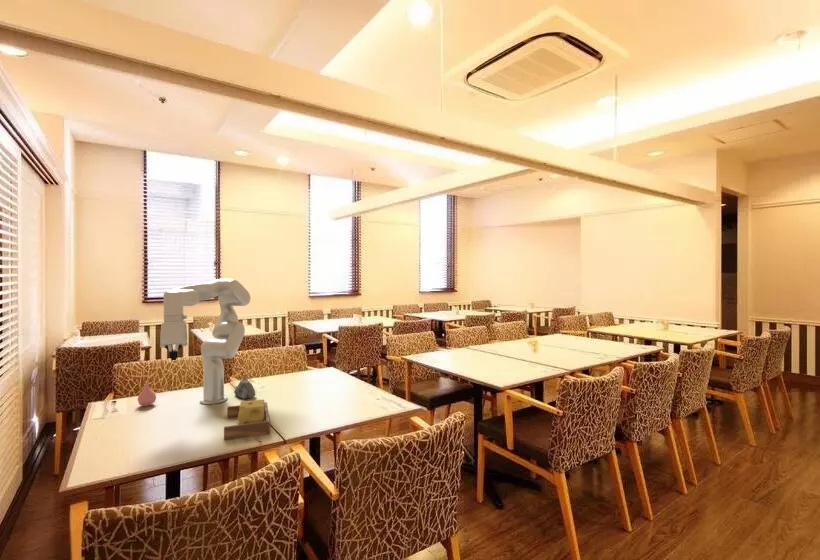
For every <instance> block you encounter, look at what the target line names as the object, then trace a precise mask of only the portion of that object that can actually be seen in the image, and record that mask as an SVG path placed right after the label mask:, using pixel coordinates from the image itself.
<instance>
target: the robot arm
mask: <svg viewBox="0 0 820 560" xmlns="http://www.w3.org/2000/svg"><path fill="white" fill-rule="evenodd" d="M214 298H217V300H218V304H219V308H220V314H219V316H218V318H217V320H216V322H215V325H214V326H213V329H212V333H211V335H212V336H213V338H210V339H206V340H204V341H203V342H202V344H201V345H200V354H201V358H202V365H203V367H202V368H203V369H202V371H203V372H202V375H203V376H202V377H203V381H202V384H203V386H202V387H203V388H202V389H203V393H202V394H203V397H201V398H200V399H199V403H201V404H203V405H215V404H220V403H223V402H225V401H227V400H228V396H227V394H225V366H224V365H225V364H224V361H223V360H222V359H232V358H234V357H235V356H236V354H237V353H238V350H239V348H240V346H241V343H242V342H243V340H244V337H245V325H244V323H242V322H240V321H237V319H238V314H237V312H236V310H235V309H234V307H245V306H247V305H249V304H250V302H251V295H250V292H249V291H248V290H247V288H246V287H245V286H244V285H243V284H242V283H241V282H240V281H238V280H237V279H234V278H218V279H212V280H210V281H207V282H202V283H196V284H191V285H185V286H184V285H183V286H179V287H176V288H172V289H170V290H167V291H164V292H163V321H162V322H161V325H160V336H159V338H160V339H159V342H160V344H159V347H160V348H163V349H166V350H167V351H168V352H169V359H171V362H172V361H177V359H178V358H179V350H181V348H183V347H187V346H188V331H187V330H188V328H187V322H186V319H188V316H187V315H185V314H184V307H193V306H195V305H198V303H200V301H207V300H211V299H214ZM173 345H174V346H175V347H173Z"/></svg>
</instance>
